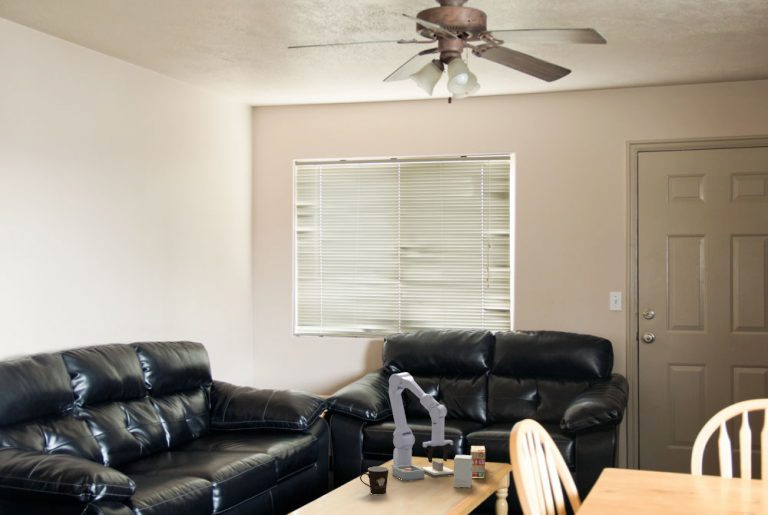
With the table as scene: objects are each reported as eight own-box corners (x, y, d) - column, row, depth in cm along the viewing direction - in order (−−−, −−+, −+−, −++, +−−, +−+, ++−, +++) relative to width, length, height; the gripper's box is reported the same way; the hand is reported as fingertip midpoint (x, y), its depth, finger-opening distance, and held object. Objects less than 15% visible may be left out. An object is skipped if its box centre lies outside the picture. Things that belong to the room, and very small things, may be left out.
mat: (419, 471, 412) (419, 470, 412) (442, 468, 417) (442, 468, 417) (433, 477, 400) (433, 476, 400) (456, 475, 405) (456, 474, 405)
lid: (421, 470, 412) (421, 459, 412) (441, 468, 416) (441, 457, 416) (433, 476, 401) (434, 465, 401) (454, 474, 405) (454, 463, 405)
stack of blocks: (470, 467, 420) (470, 441, 420) (484, 468, 420) (484, 442, 420) (470, 478, 399) (471, 451, 399) (485, 479, 398) (485, 451, 398)
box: (392, 475, 403) (392, 466, 403) (412, 473, 408) (412, 464, 408) (404, 481, 392) (404, 472, 393) (424, 479, 397) (424, 470, 397)
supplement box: (470, 488, 381) (470, 458, 381) (453, 487, 382) (453, 457, 383) (472, 484, 388) (472, 455, 388) (455, 483, 390) (455, 454, 390)
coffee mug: (389, 490, 376) (389, 466, 376) (387, 495, 367) (387, 471, 368) (362, 489, 377) (362, 466, 377) (359, 495, 369) (359, 470, 369)
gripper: (428, 434, 402) (427, 464, 402) (456, 432, 408) (455, 462, 408) (420, 431, 408) (420, 461, 408) (448, 429, 414) (448, 458, 414)
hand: (437, 461), depth 409 cm, fingers open, 7 cm apart
